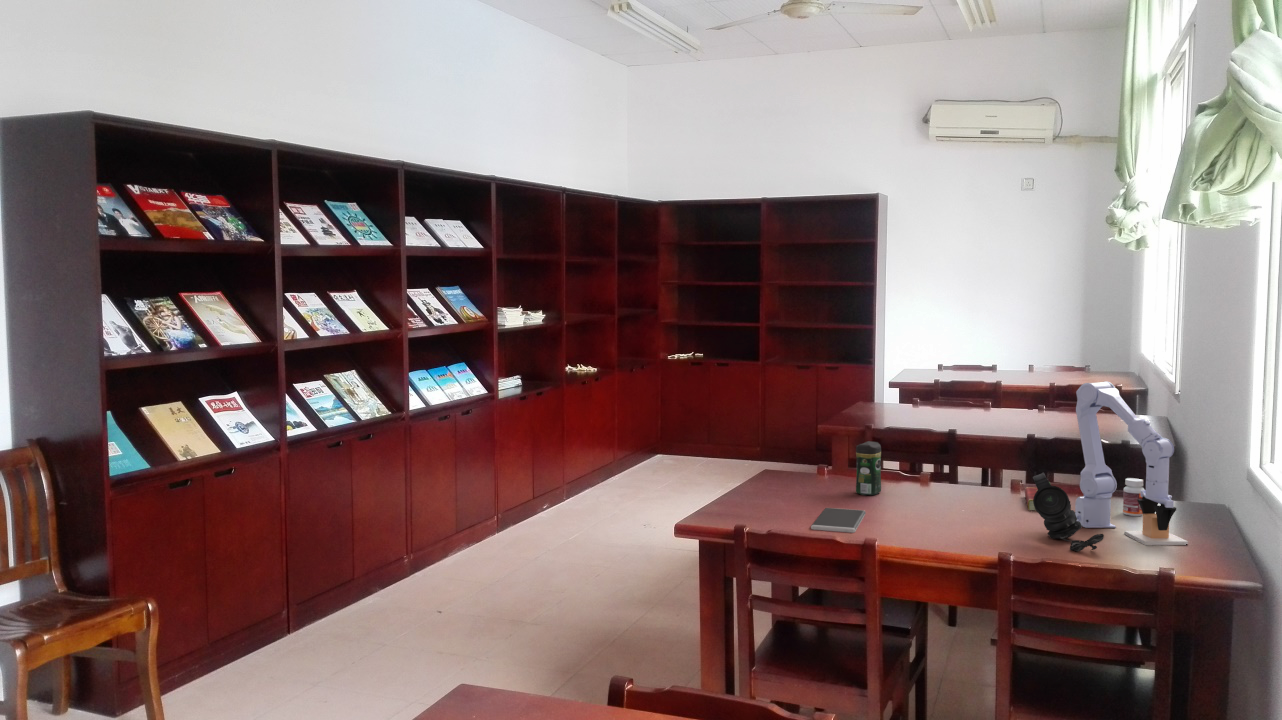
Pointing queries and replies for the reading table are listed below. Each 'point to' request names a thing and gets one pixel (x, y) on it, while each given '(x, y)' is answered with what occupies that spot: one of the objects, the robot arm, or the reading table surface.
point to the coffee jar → (868, 468)
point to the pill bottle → (1132, 497)
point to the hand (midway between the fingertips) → (1155, 526)
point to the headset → (1059, 514)
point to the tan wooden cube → (1153, 527)
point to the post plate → (1155, 539)
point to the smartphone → (839, 520)
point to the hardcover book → (1030, 497)
